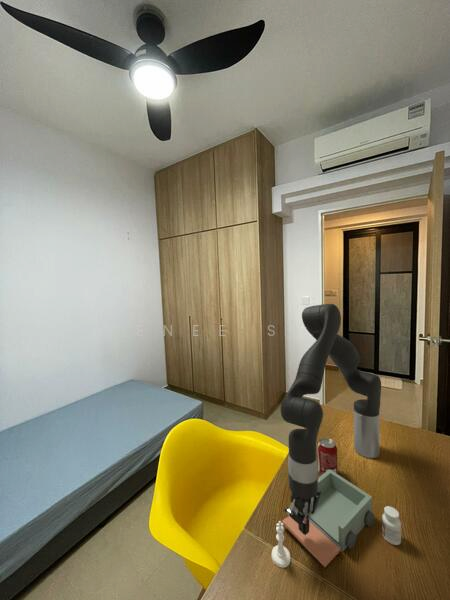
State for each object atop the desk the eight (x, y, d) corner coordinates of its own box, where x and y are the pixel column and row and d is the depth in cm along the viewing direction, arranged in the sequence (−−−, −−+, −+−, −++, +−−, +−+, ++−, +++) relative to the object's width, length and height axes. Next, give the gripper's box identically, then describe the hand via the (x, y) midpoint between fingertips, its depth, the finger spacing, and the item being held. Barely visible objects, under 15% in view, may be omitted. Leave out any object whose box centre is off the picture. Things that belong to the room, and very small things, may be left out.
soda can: (339, 481, 88) (339, 449, 87) (319, 478, 90) (318, 447, 89) (335, 467, 95) (334, 437, 94) (316, 465, 96) (315, 435, 95)
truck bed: (326, 484, 87) (326, 467, 87) (376, 519, 74) (376, 499, 73) (296, 509, 78) (296, 490, 78) (347, 555, 65) (347, 532, 64)
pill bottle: (383, 526, 72) (383, 501, 71) (401, 535, 69) (401, 509, 68) (381, 539, 68) (380, 513, 68) (400, 549, 66) (400, 522, 65)
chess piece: (269, 548, 67) (268, 514, 67) (286, 545, 68) (285, 511, 67) (274, 569, 62) (273, 532, 62) (293, 566, 63) (292, 529, 62)
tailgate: (298, 507, 77) (282, 520, 72) (341, 546, 65) (325, 564, 61) (298, 510, 77) (282, 523, 72) (341, 549, 65) (325, 567, 61)
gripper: (306, 452, 73) (307, 507, 74) (275, 474, 65) (276, 534, 67) (330, 467, 67) (330, 527, 68) (297, 493, 59) (299, 559, 60)
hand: (304, 531), depth 67 cm, fingers closed
